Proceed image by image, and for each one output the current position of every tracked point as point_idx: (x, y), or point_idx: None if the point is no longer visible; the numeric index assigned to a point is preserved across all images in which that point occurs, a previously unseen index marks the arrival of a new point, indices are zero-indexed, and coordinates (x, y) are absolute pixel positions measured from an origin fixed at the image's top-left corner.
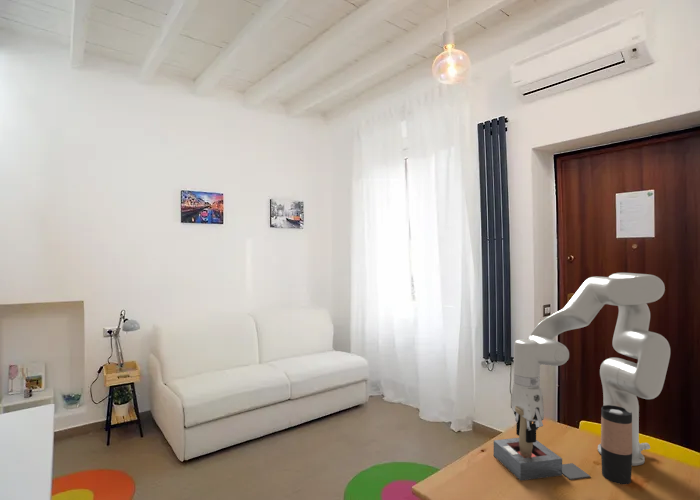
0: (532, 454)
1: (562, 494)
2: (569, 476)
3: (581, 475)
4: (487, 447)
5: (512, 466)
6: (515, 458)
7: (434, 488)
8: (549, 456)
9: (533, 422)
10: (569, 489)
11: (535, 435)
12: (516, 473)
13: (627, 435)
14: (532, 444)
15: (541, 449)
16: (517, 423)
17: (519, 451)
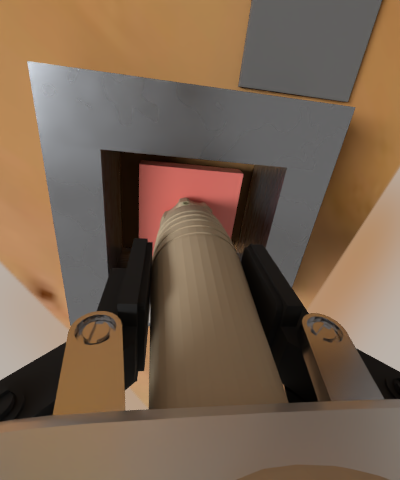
0: (182, 175)
1: (371, 210)
2: (337, 87)
3: (368, 4)
4: (19, 266)
5: None
6: None
7: None
8: (301, 168)
9: (318, 387)
10: (373, 162)
11: (275, 272)
12: None
13: None
14: (229, 237)
15: (224, 151)
16: (136, 377)
17: (139, 219)
